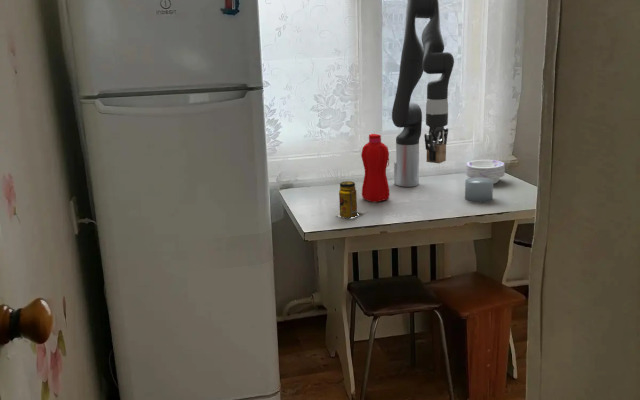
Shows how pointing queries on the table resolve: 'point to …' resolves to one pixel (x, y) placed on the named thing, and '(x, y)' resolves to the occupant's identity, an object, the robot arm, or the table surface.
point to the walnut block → (439, 153)
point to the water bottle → (375, 170)
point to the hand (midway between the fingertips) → (436, 159)
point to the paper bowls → (486, 169)
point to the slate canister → (478, 190)
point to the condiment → (348, 200)
